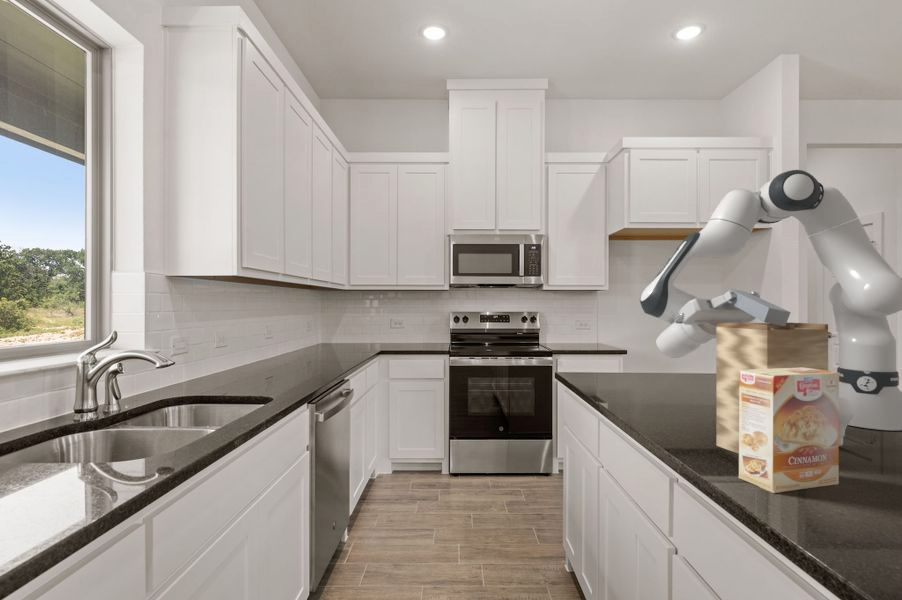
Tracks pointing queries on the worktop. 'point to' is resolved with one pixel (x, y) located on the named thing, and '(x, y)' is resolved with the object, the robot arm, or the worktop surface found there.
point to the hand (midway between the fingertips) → (745, 294)
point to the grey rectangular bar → (760, 308)
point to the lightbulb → (844, 417)
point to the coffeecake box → (789, 428)
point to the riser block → (759, 362)
